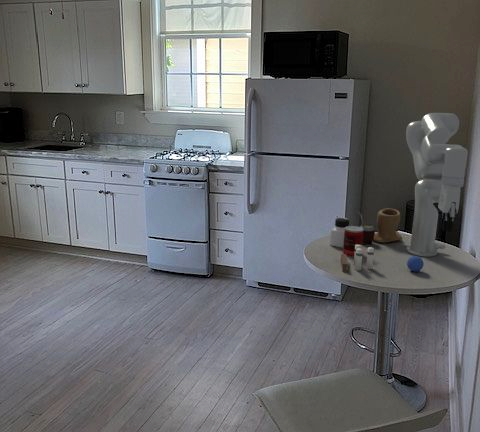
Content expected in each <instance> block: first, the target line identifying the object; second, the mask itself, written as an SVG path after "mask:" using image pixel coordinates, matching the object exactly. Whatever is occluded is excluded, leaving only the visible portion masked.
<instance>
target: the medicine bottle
mask: <svg viewBox="0 0 480 432" xmlns="http://www.w3.org/2000/svg"><path fill="white" fill-rule="evenodd" d="M347 226H350V219H348V218H346V217H338V218H335V222H334V228H333V229H331V230H330V240H329V241H330V243H329V246H332V247H337V248H342V249H343V243H344V231H345V227H347Z"/></svg>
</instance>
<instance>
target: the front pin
mask: <svg viewBox="0 0 480 432" xmlns="http://www.w3.org/2000/svg"><path fill="white" fill-rule="evenodd" d="M374 254H375V247H370V246H369V247H367V254H366V263H365V264H366V265H365V268H366V269H367V270H372V269H373V265H374Z"/></svg>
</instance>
